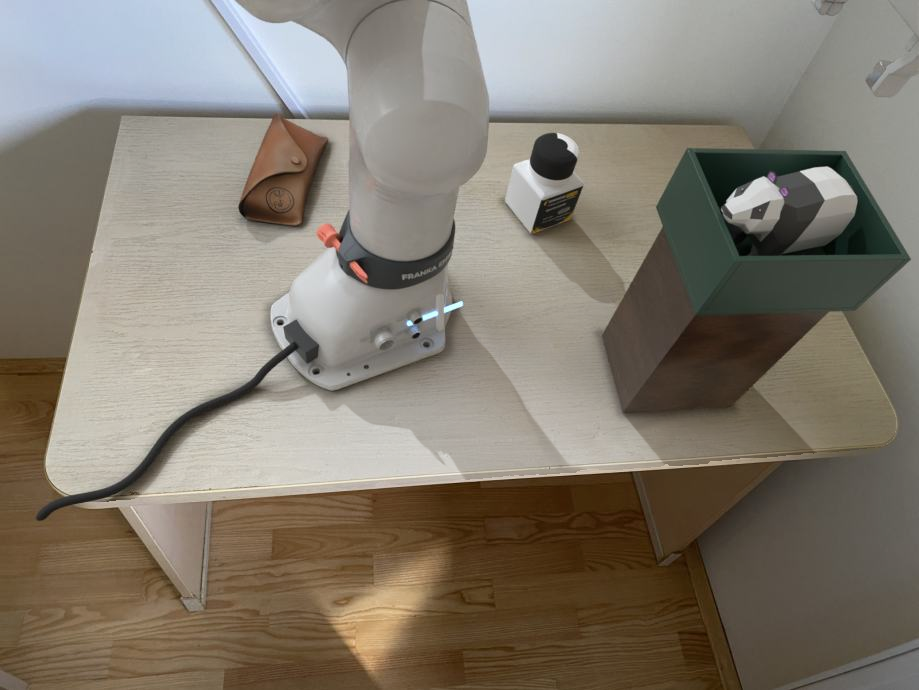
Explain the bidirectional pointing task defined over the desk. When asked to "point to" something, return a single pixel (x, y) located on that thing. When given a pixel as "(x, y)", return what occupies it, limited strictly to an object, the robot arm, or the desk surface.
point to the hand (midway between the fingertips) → (849, 48)
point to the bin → (771, 277)
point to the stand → (689, 343)
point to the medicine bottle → (546, 183)
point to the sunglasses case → (281, 174)
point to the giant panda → (790, 211)
